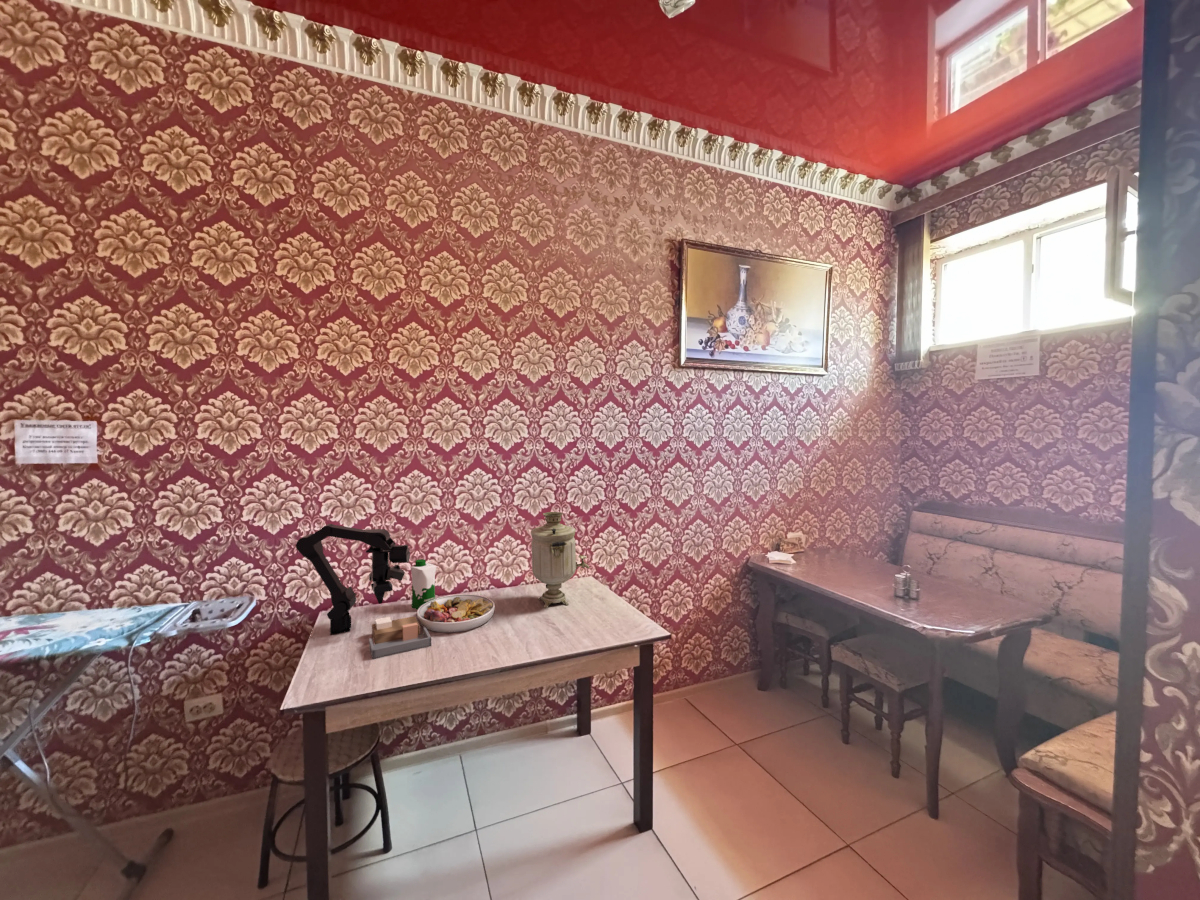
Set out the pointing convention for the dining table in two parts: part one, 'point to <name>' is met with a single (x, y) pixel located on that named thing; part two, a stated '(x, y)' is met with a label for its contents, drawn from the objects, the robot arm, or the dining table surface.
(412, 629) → the terracotta tile
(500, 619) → the dining table surface
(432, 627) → the bowl
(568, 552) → the samovar
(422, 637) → the tray
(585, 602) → the dining table surface
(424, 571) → the milk carton
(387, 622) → the cream tile
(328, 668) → the dining table surface
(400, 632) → the board
